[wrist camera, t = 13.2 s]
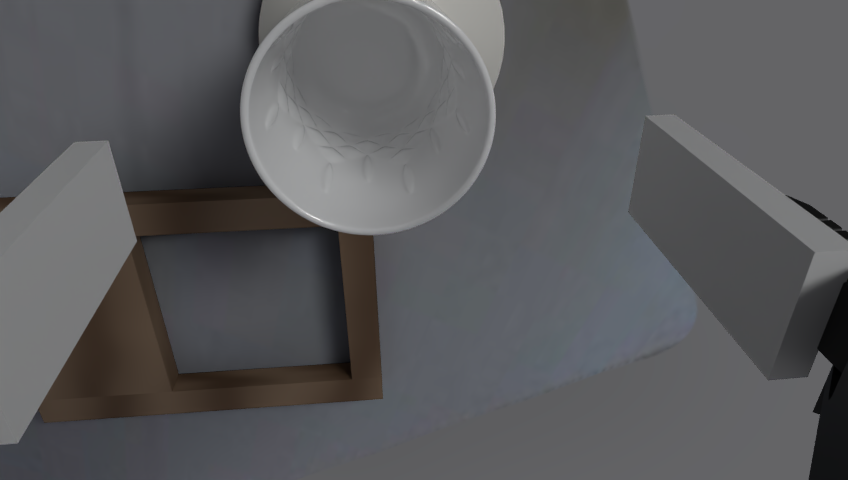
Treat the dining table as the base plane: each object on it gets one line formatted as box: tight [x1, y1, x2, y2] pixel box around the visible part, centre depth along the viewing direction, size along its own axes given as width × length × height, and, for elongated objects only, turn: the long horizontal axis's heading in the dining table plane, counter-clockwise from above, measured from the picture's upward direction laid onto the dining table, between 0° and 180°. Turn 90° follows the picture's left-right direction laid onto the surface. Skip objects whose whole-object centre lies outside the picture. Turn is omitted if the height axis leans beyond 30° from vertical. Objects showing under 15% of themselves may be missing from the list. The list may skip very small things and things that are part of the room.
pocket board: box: [0, 186, 383, 423], centre depth 34 cm, size 20×14×2 cm
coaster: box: [258, 0, 505, 89], centre depth 28 cm, size 11×11×1 cm
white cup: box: [240, 0, 496, 235], centre depth 23 cm, size 8×8×10 cm
